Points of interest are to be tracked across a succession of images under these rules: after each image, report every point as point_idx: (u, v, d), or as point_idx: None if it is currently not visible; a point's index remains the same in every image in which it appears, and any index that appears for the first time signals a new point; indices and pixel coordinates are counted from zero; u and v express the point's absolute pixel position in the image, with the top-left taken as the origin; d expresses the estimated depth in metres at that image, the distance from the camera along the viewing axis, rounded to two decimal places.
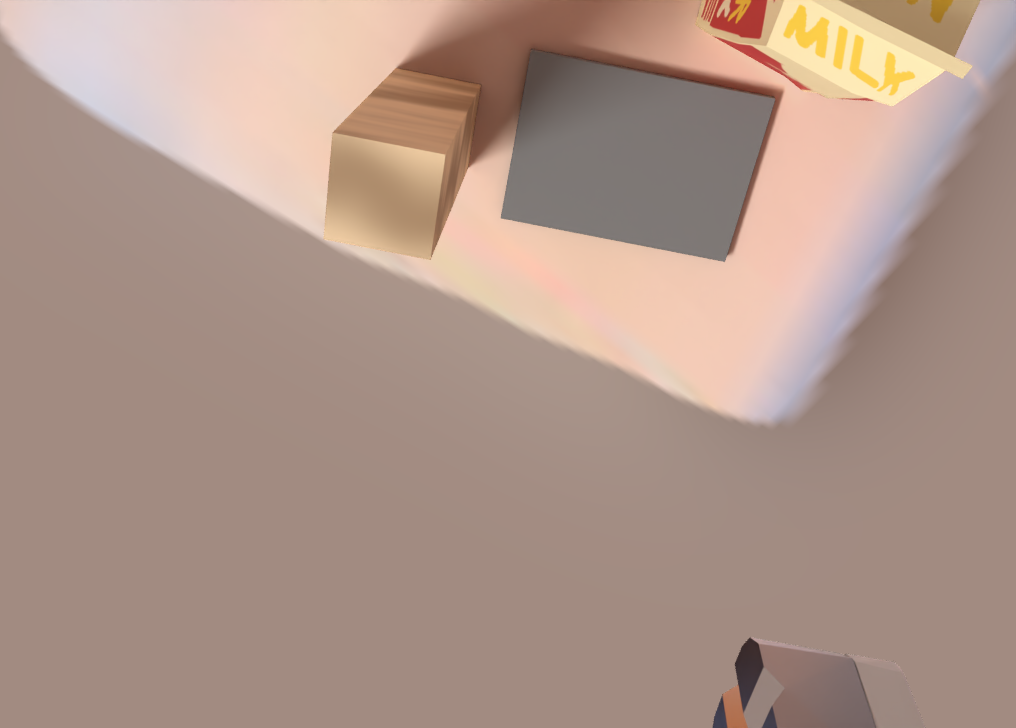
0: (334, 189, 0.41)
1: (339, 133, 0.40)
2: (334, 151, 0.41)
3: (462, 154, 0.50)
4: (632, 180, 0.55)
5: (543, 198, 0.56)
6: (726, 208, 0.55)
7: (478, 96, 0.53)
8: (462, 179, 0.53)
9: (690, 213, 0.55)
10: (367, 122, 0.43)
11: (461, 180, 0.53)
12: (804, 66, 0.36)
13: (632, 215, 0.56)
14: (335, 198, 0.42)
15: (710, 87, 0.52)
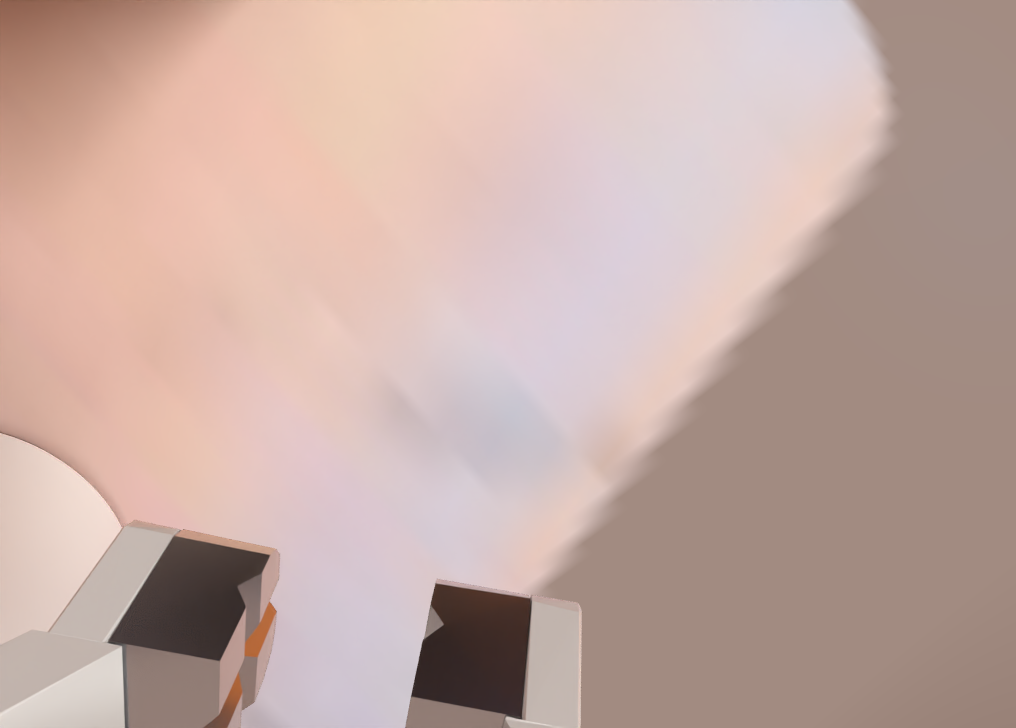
0: None
1: None
2: None
3: None
4: None
5: None
6: None
7: None
8: None
9: None
10: None
11: None
12: None
13: None
14: None
15: None
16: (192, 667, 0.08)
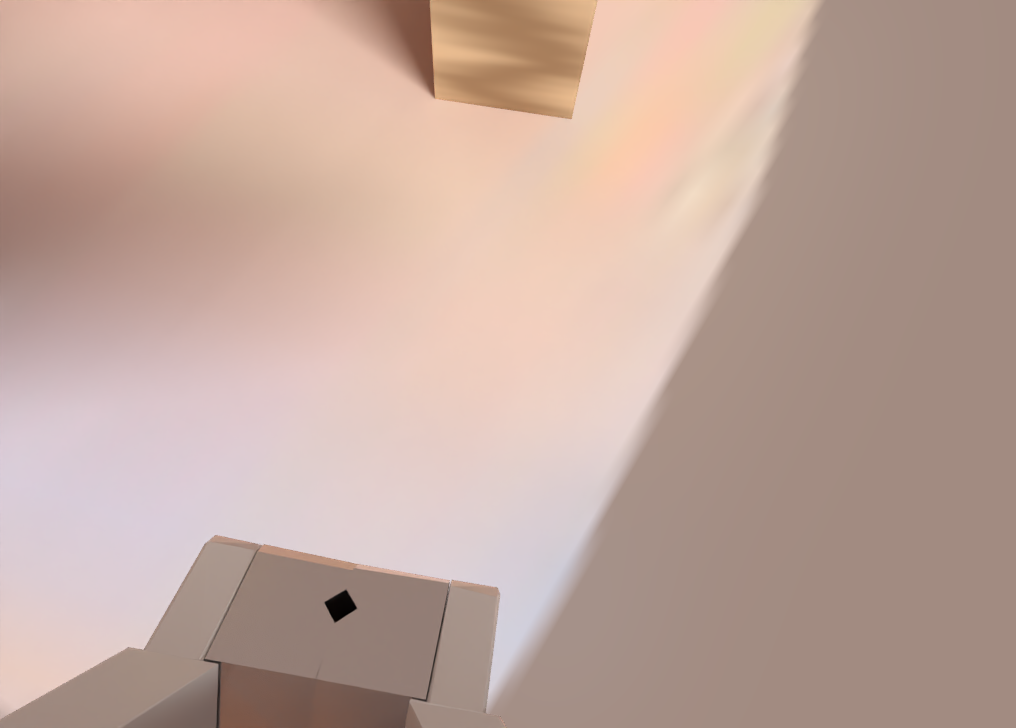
0: None
1: None
2: None
3: None
4: None
5: None
6: None
7: None
8: None
9: None
10: None
11: None
12: None
13: None
14: None
15: None
16: (288, 684, 0.08)
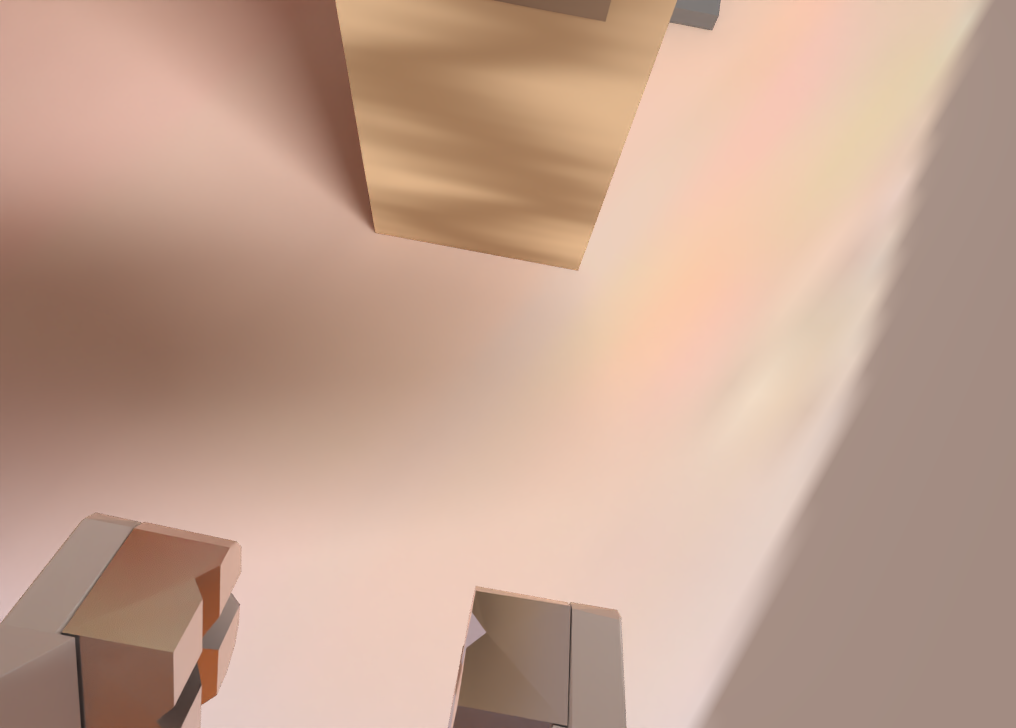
0: None
1: None
2: None
3: None
4: None
5: None
6: None
7: None
8: None
9: None
10: None
11: None
12: None
13: None
14: None
15: None
16: (147, 659, 0.08)
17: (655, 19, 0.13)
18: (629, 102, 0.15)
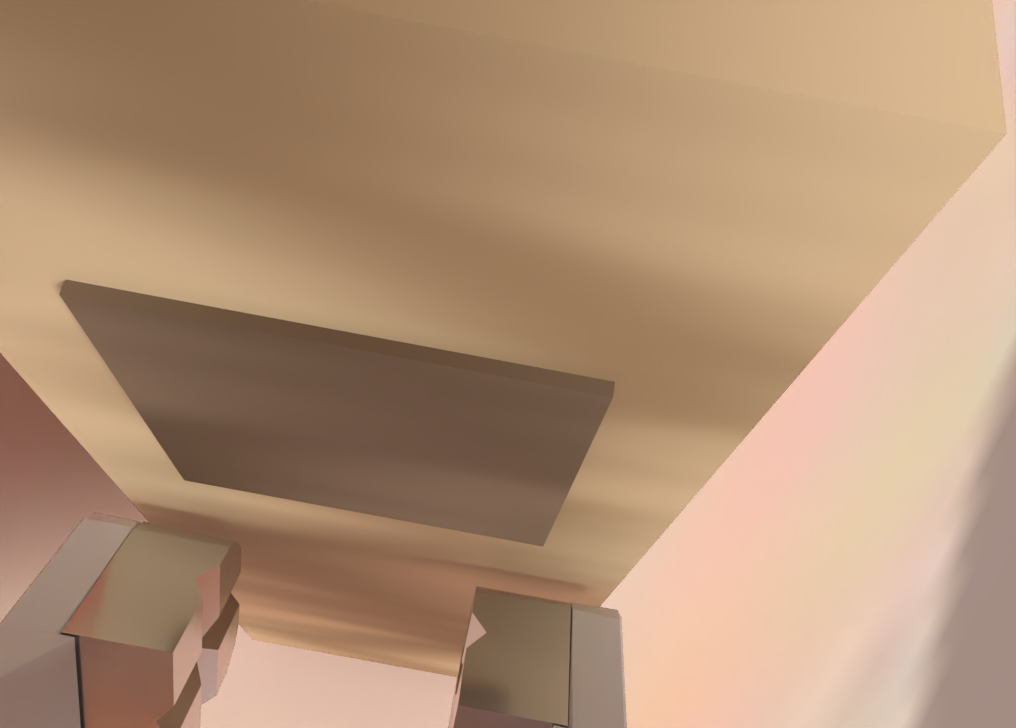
0: None
1: None
2: None
3: None
4: None
5: None
6: None
7: None
8: None
9: None
10: None
11: None
12: None
13: None
14: None
15: None
16: (147, 659, 0.08)
17: (625, 546, 0.08)
18: (588, 600, 0.10)
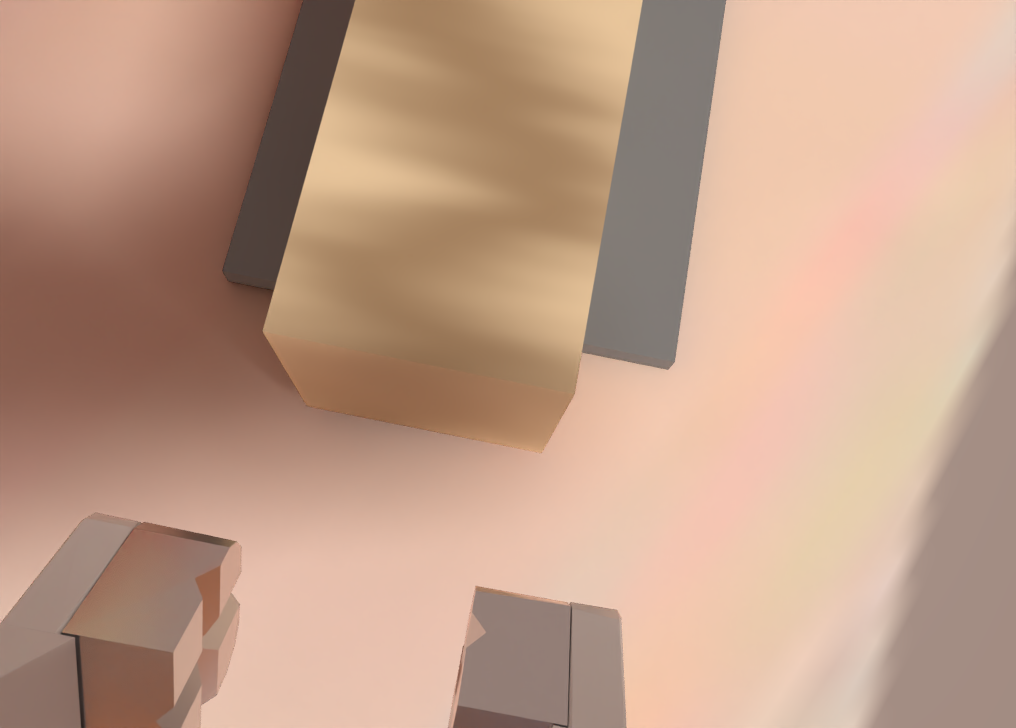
0: None
1: None
2: None
3: None
4: None
5: (611, 249, 0.21)
6: None
7: None
8: None
9: None
10: None
11: None
12: None
13: (647, 44, 0.22)
14: None
15: None
16: (147, 659, 0.08)
17: None
18: (632, 4, 0.17)
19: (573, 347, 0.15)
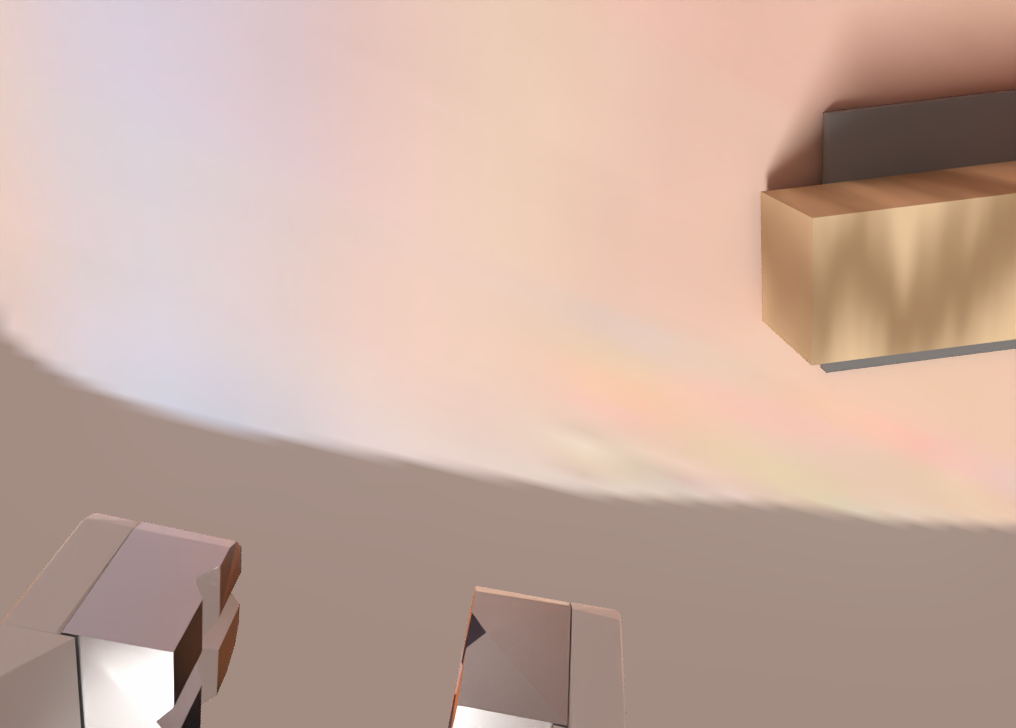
0: None
1: None
2: None
3: None
4: None
5: None
6: None
7: None
8: None
9: None
10: None
11: None
12: None
13: None
14: None
15: None
16: (147, 659, 0.08)
17: None
18: None
19: (833, 358, 0.31)
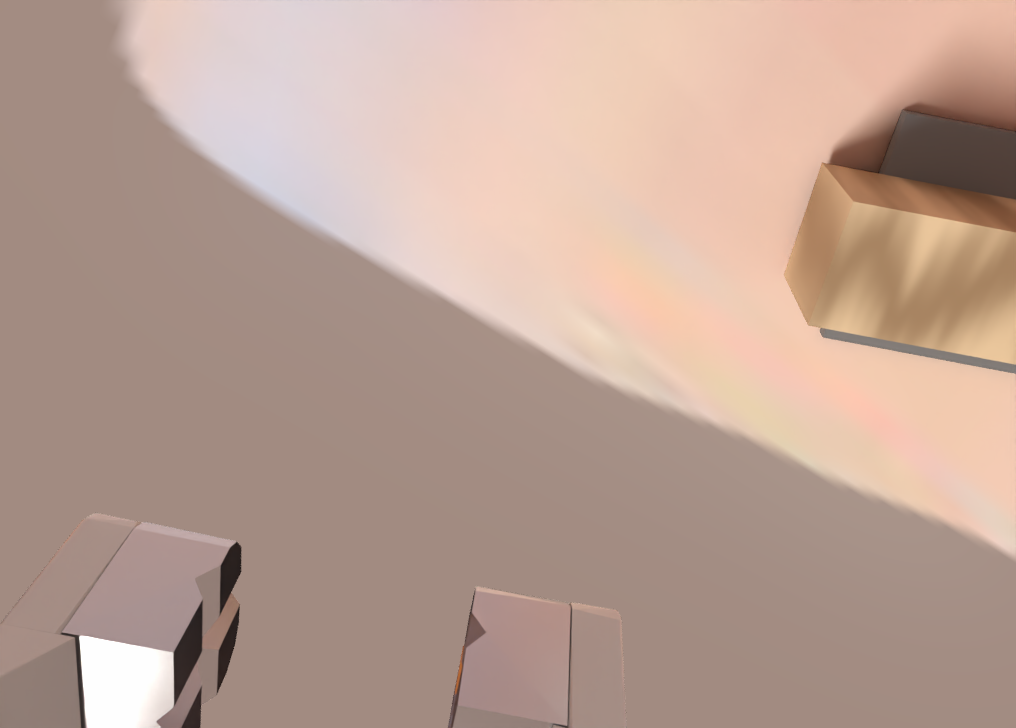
0: None
1: None
2: None
3: None
4: None
5: None
6: None
7: None
8: None
9: None
10: None
11: None
12: None
13: None
14: None
15: None
16: (147, 658, 0.08)
17: None
18: (998, 357, 0.35)
19: (828, 325, 0.35)
